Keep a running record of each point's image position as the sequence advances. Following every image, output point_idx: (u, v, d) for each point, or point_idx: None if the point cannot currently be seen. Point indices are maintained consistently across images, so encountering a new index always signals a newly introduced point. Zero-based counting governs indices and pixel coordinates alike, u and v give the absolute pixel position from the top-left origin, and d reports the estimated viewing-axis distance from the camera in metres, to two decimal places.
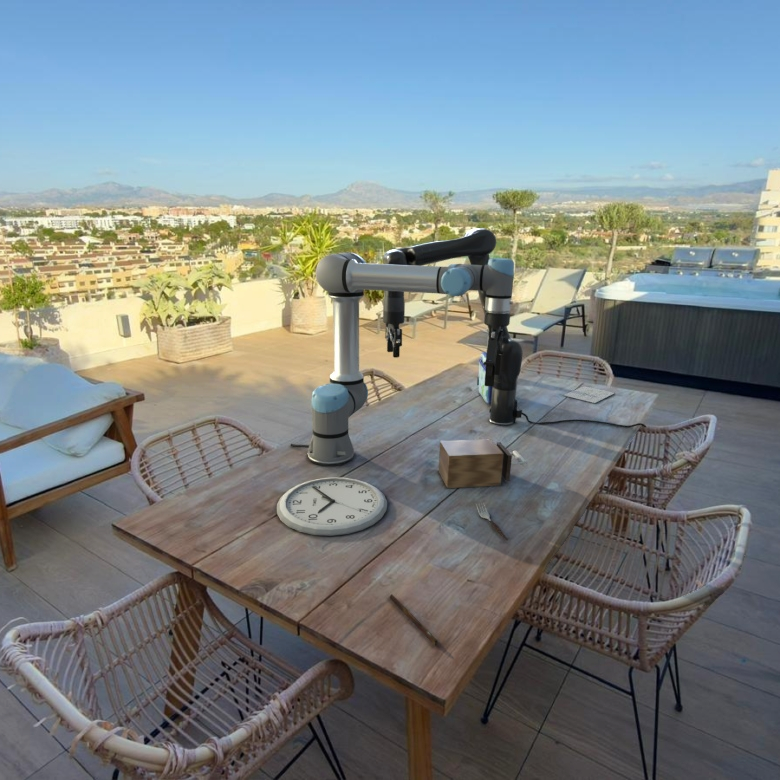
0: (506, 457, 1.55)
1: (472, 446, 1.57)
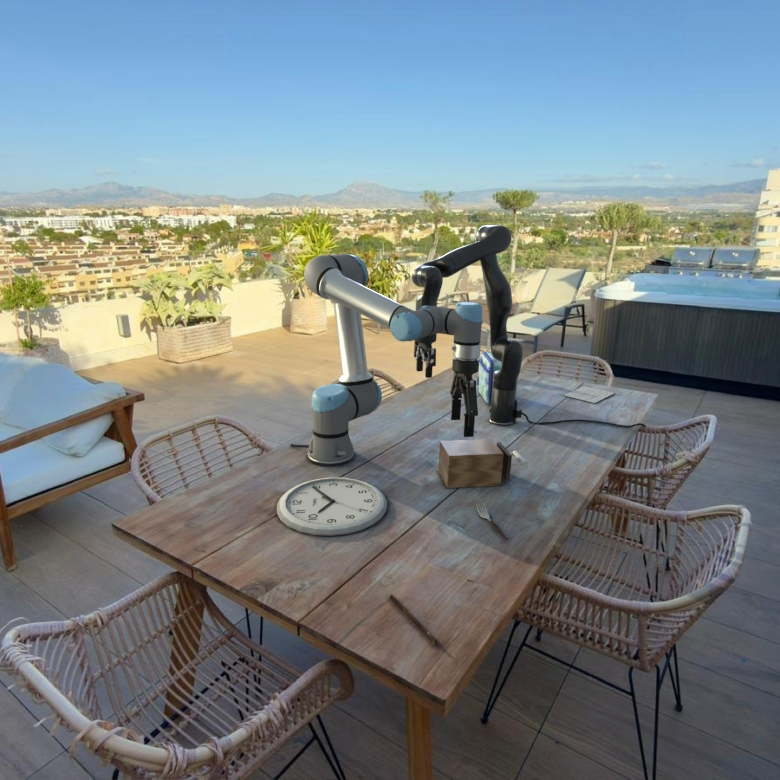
0: (506, 457, 1.55)
1: (472, 446, 1.57)
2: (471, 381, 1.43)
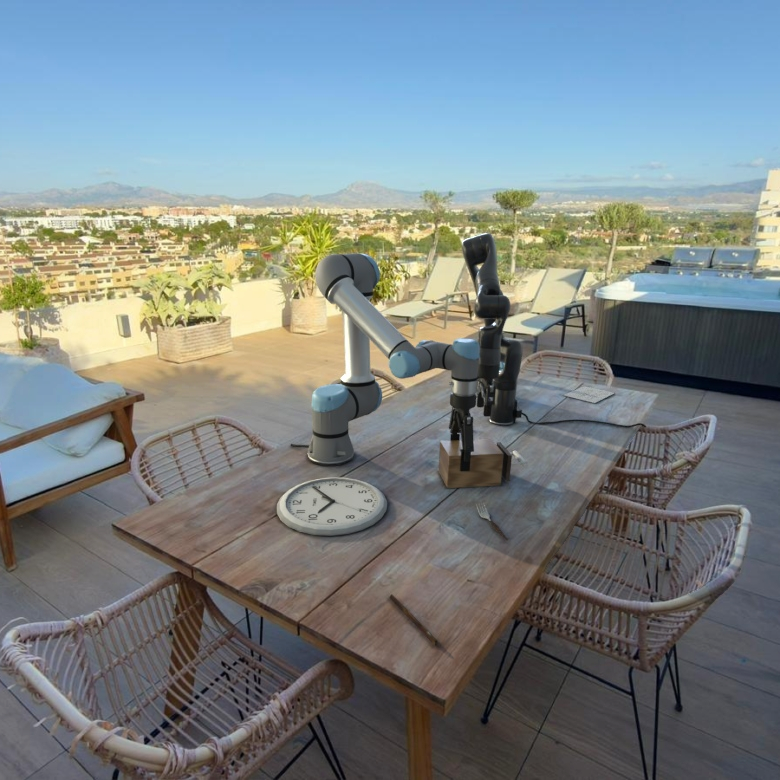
0: (506, 457, 1.55)
1: None
2: (468, 418, 1.46)
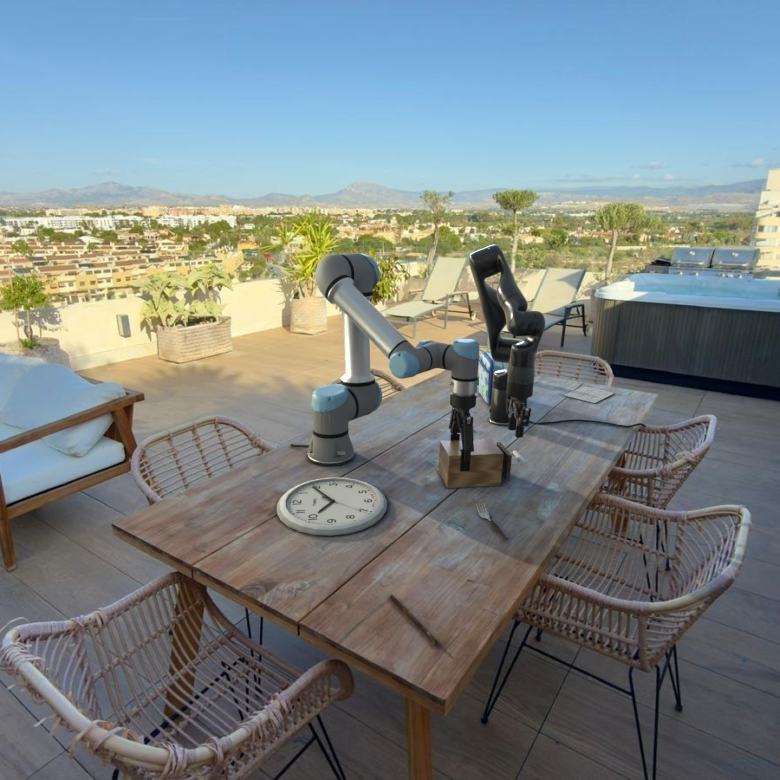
0: (506, 457, 1.55)
1: None
2: (468, 418, 1.46)
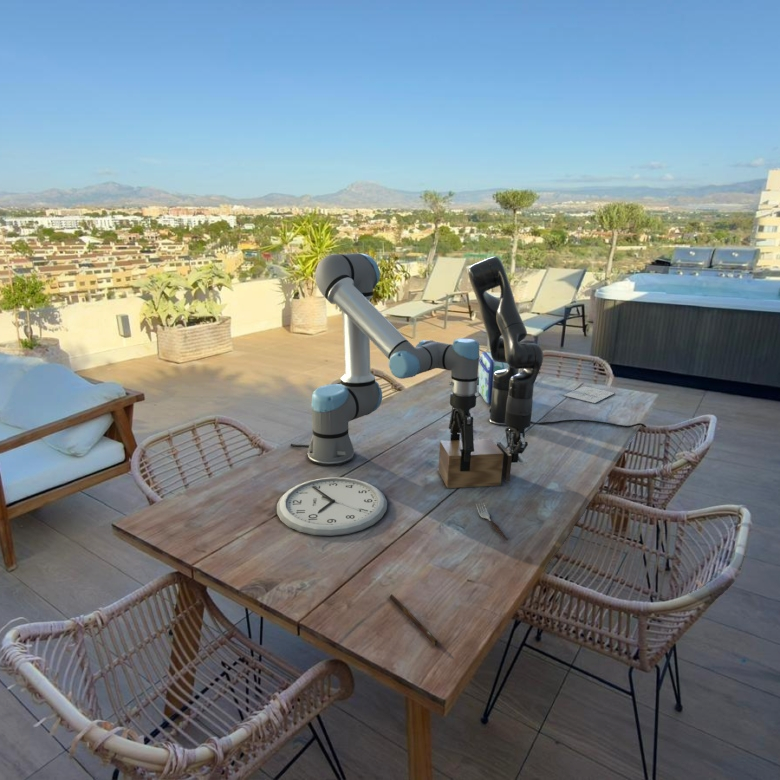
0: (506, 457, 1.55)
1: None
2: (468, 418, 1.46)
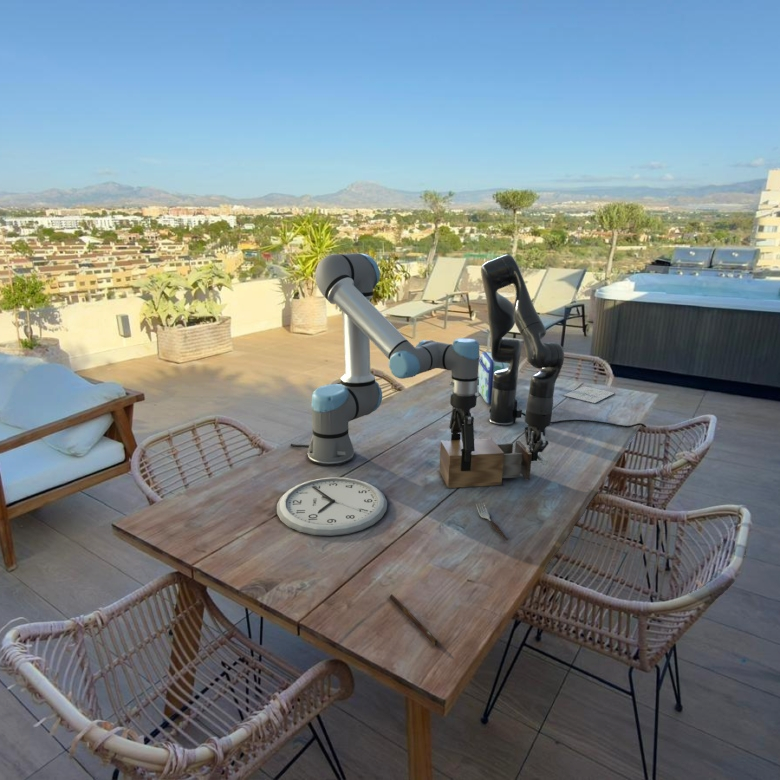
0: (526, 455, 1.56)
1: None
2: (469, 418, 1.46)
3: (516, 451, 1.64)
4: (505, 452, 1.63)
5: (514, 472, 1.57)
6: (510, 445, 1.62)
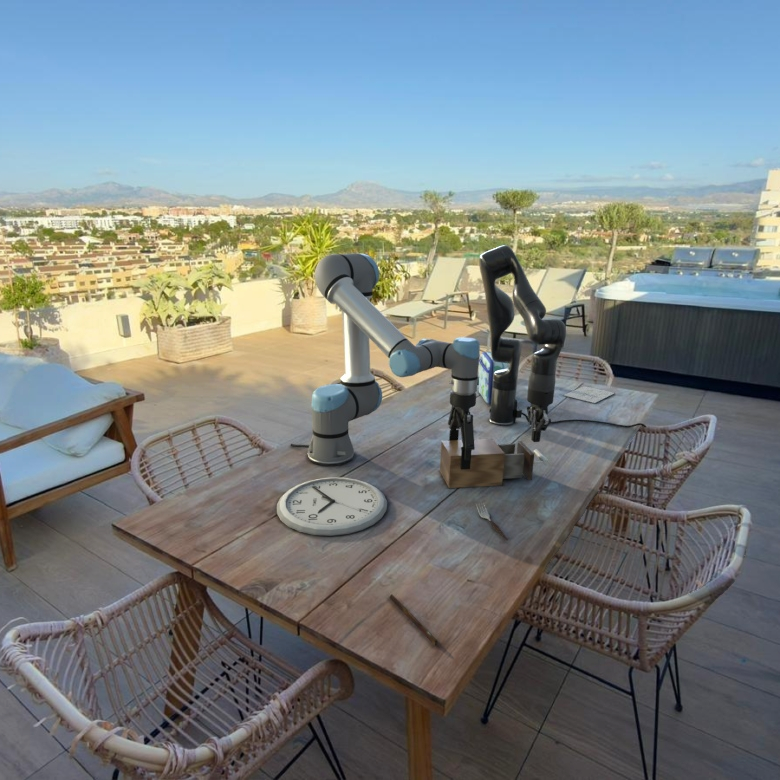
0: (528, 456, 1.56)
1: None
2: (468, 415, 1.46)
3: (518, 451, 1.64)
4: (507, 452, 1.63)
5: (516, 472, 1.57)
6: (512, 445, 1.62)
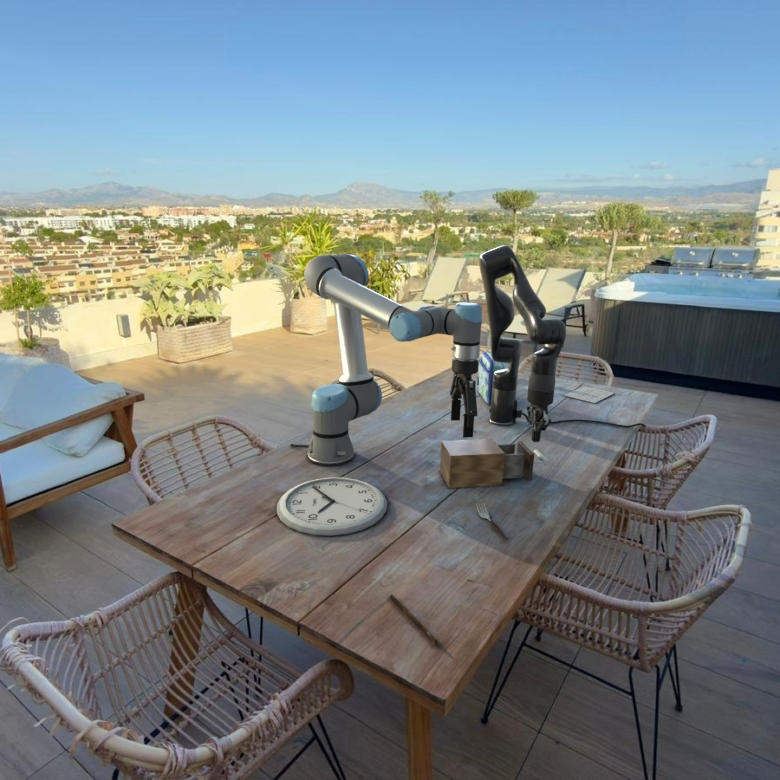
0: (528, 456, 1.56)
1: (473, 446, 1.57)
2: (470, 381, 1.43)
3: (518, 451, 1.64)
4: (507, 452, 1.63)
5: (516, 472, 1.57)
6: (512, 445, 1.62)
